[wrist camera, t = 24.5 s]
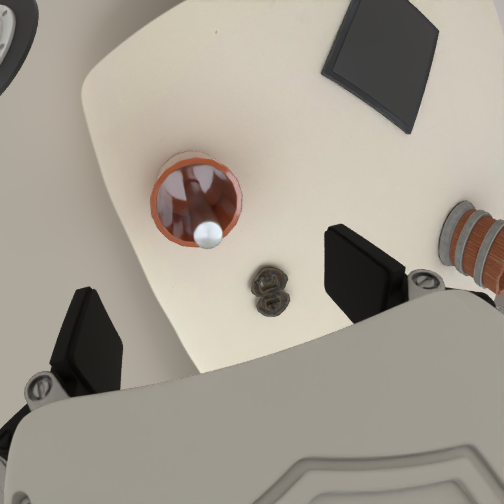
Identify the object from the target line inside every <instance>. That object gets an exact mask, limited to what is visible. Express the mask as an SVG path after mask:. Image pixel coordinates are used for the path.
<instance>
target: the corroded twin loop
mask: <svg viewBox="0 0 504 504" xmlns="http://www.w3.org/2000/svg"><path fill="white" fill-rule="evenodd" d="M274 276H275V278H276V283H277V286H275V287H272V288H269V289H267V290H265V291H262V290H261V286H260V283H261V281H262V282H263V285H264V286H266V285H270V284H272V283H273V282H274ZM287 281H288V277H287V275H286V274H285V273H284V272H283V271H281V270H279V269H277V268H272V267H268V268H264V269H262V270H261V271H260V272H259V273H258V275H257V276H256V278H255V279H254V280H253V282H252V287H251V292H252V293H253V294H254V295H256V296H257V297H260V300H259V302H258V305H257V310H258V312H259V313H261V314H262V315H264V316H267V317H268V316H269V317H276V316H278V315H280V314H281V313H282V312H283V311H284V310H285V309H286V308H287V306H288V304H289V302H290V297H289V294H287V293H285V292H283V289H284V288H285V286H286V283H287ZM276 298H279V299H280V303H279V302H278V303H277V302H272V303H270V304H269V306H268V307H269V308H267V302H268V301H271V300H274V299H276Z"/></svg>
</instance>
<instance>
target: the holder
mask: <svg viewBox="0 0 504 504" xmlns="http://www.w3.org/2000/svg"><path fill="white" fill-rule="evenodd" d="M191 182H197V183H198V184H200V185H201V187H202V189H203V191H204V193H205V195H206V197H207V200H208V202H209V204H210V206H211V208H212V210H213V212H214V214H215V216H216V218H217V220H218V222H219V224H220V226H221V228H222V231H223V238H224V237H225V236H226V235H227V234H228V233H229V232H230V231H231V230H232V229H233V227H234V226H235V225H236V223H237V221H238V218H239V216H240V213H241V211H242V192H241V189H240V186H239V183H238V180H237V179H236V177H235V176H234V175H233V174H232V173H231V171H230V170H229V169H228V168H227V167H226V166H224V165H223V164H222V163H220V162H219V161H217V160H216V159H215V158H213V157H211V156H209V155H207V154H205V153H203V152H199V151H186V152H182V153H179V154H177V155H175V156H173V157H171V158H170V159H169V160H168V161H167V162H166V163H165V164H164V165H163V166H162V168H161V169H160V171H159V173H158V176H157V179H156V182H155V185H154V188H153V191H152V195H151V198H150V205H151V215H152V218H153V220H154V222H155V224H156V226H157V228H158V230H159V231H160V232H161V233H162V234H163V235H164V236H165V237H166V238H167V239H168V240H170V241H172V242H175V243H177V244H179V245H181V246H187V247H200V246H198V245H197V244H196V242H195V241H194V237H193V232H192V227H191V222H190V217H189V212H188V207H187V202H186V196H185V187H186V186H187V184H189V183H191Z"/></svg>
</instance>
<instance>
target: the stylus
mask: <svg viewBox="0 0 504 504" xmlns="http://www.w3.org/2000/svg"><path fill="white" fill-rule="evenodd" d="M185 196H186V202H187V207H188V212H189V217H190V222H191V227H192V232H193V237H194V241H195V242H196V244H197V245H198V246H200V247H201V248H205V249H211V248H214V247H216V246H217V245H218V244H219V243H220V242H221V240H222V238H223V231H222V228H221V226H220V224H219V222H218V220H217V218H216V216H215V214H214V212H213V210H212V208H211V206H210V204H209V202H208V200H207V197H206V195H205V193H204V191H203V189H202V187H201V185H200V184H198V183H197V182H191V183H189V184H187V186H186V187H185Z"/></svg>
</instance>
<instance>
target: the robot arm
mask: <svg viewBox="0 0 504 504" xmlns="http://www.w3.org/2000/svg"><path fill="white" fill-rule="evenodd" d="M15 25H16V20H15V15H14V13H13V11H12V10H11V9H10V8H8V7H7V6H5V5H0V65H1V63H2V61H3V59H4V58H5V56H6V54H7V52H8V50H9V47H10V45H11V42H12V39H13V36H14V32H15ZM324 247H325V272H324V287H325V290H326V293H327V294H328V295H329V296H330V297H331V298H332V300H333V301H334V302H335V303H336V304H337V305H338V306H339V307H340V309H341V310H342V311H343V312H344V313H345V314H346V315H347V316H348V318H349V319H350V320H351V321H352V322H353V323H354V324H353V325H351V326H348V327H346V328H343V329H341V330H338V331H335V332H333V333H330V334H327V335H325V336H322V337H319V338H317V339H314V340H311V341H308V342H306V343H303V344H300V345H297V346H294V347H291V348H288V349H285V350H282V351H279V352H276V353H273V354H270V355H267V356H263V357H260V358H257V359H254V360H250V361H247V362H243V363H240V364H236V365H233V366H229V367H225V368H222V369H218V370H214V371H210V372H206V373H202V374H198V375H194V376H189V377H185V378H180V379H176V380H171V381H166V382H162V383H157V384H152V385H146V386H141V387H135V388H130V389H124V390H120V384H121V368H122V355H123V344H122V341H121V339H120V337H119V335H118V333H117V331H116V329H115V328H114V326H113V324H112V322H111V320H110V318H109V316H108V314H107V312H106V310H105V308H104V306H103V304H102V302H101V299H100V297H99V295H98V293H97V291H96V290H95V289H92V288H91V287H85V288H81V289H77V290H76V291H75V294H74V296H73V299H72V301H71V304H70V306H69V308H68V311H67V314H66V316H65V319H64V321H63V324H62V327H61V330H60V333H59V335H58V338H57V341H56V344H55V347H54V350H53V353H52V356H51V360H50V365H51V366H52V367H51V371H50V372H49V371H42V372H39V373H37V374H35V375H34V376H32V378H30V379H29V381H28V382H27V384H26V387H25V389H24V396H25V399H26V401H27V404H26V405H25V406H24V407H23V408H22V409H21V410H20V411H19V412H17V413H16V414H15V415H14V416H13V417H12V418H11V419H10V420H9V421H8V422H7V423H6V424H5V425H4V426H3V427H2V428H1V429H0V504H504V307H503V306H500V305H498V307H497V308H496V306H495V303H494V301H493V300H492V299H491V298H490V297H489V296H488V295H487V294H485V293H483V292H474V291H467V290H460V289H453V288H447V287H445V285H444V281H443V279H442V278H441V277H440V276H439V275H438V274H437V273H435V272H433V271H430V270H425V269H418V270H414V271H412V272H410V273H409V275H408V276H407V275H406V274H405V268H406V267H405V266H403V265H402V264H401V263H399V262H398V261H396V260H395V259H394V258H392V257H391V256H389V255H388V254H387V253H385V252H384V251H382V250H381V249H379V248H378V247H376V246H375V245H373V244H372V243H371V242H369V241H368V240H366V239H365V238H363V237H362V236H360V235H359V234H357V233H356V232H354V231H353V230H351V229H350V228H348V227H346V226H345V225H343V224H338V225H334V226H329V227H328V229H327V231H325V233H324Z"/></svg>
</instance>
